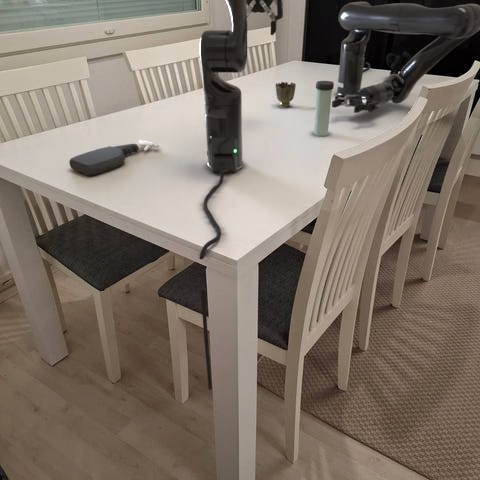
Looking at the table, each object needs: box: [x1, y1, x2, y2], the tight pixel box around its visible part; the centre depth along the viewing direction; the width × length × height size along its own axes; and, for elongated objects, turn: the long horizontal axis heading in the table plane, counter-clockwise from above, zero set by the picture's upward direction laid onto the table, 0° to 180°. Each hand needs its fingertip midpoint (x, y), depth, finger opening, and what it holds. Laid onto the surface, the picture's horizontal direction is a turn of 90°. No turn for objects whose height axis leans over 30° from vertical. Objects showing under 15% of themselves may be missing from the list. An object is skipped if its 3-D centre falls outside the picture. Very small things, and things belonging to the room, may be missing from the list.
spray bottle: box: [68, 139, 160, 177], centre depth 124 cm, size 3×11×24 cm
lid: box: [315, 80, 335, 90], centre depth 133 cm, size 5×5×2 cm
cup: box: [275, 81, 297, 108], centre depth 166 cm, size 8×7×8 cm
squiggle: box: [385, 51, 412, 80], centre depth 198 cm, size 11×10×15 cm
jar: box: [313, 89, 333, 137], centre depth 137 cm, size 4×4×15 cm
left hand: (258, 34), depth 138 cm, fingers open, 8 cm apart
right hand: (343, 106), depth 143 cm, fingers open, 8 cm apart
